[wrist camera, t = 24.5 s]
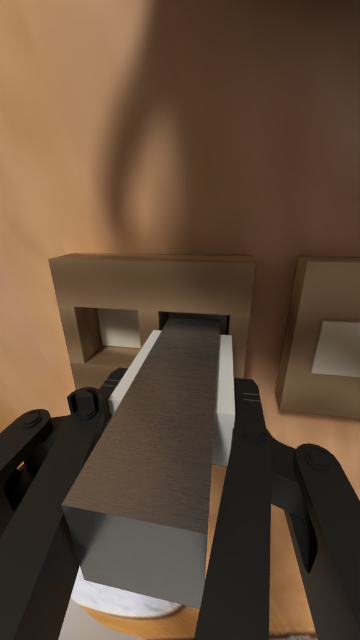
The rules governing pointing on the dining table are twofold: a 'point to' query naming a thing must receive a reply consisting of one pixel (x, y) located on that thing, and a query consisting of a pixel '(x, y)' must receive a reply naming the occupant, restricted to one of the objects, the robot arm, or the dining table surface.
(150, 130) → the dining table surface
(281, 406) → the board
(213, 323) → the pin
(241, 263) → the build board
